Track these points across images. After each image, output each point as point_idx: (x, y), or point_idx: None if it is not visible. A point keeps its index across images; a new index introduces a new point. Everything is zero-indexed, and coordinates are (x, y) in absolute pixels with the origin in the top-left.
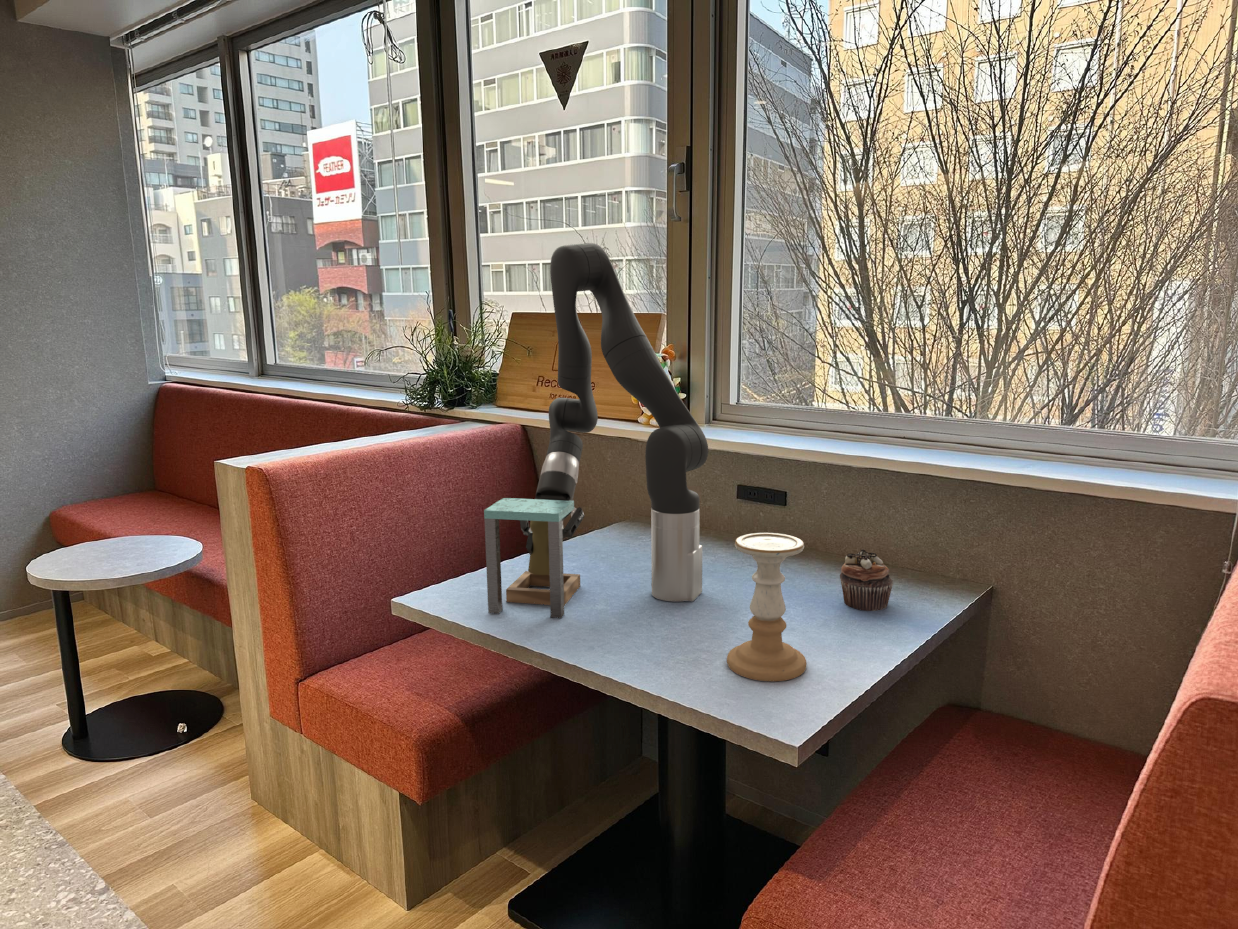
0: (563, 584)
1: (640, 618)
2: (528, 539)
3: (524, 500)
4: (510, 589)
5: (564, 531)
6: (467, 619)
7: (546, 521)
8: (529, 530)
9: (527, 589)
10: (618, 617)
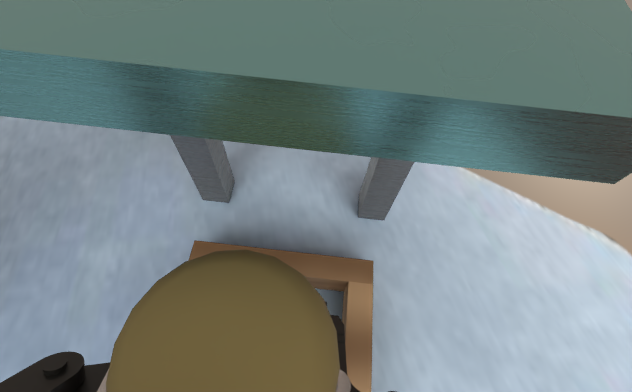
0: (180, 152)
1: (17, 189)
2: (339, 353)
3: (367, 31)
4: (359, 261)
5: (84, 378)
6: (413, 164)
7: (189, 264)
8: (345, 381)
9: (308, 264)
10: (71, 192)
